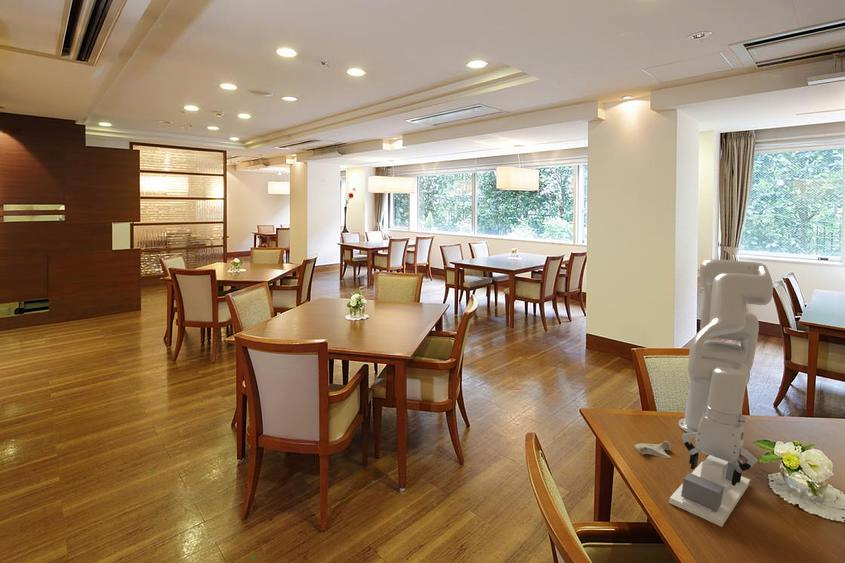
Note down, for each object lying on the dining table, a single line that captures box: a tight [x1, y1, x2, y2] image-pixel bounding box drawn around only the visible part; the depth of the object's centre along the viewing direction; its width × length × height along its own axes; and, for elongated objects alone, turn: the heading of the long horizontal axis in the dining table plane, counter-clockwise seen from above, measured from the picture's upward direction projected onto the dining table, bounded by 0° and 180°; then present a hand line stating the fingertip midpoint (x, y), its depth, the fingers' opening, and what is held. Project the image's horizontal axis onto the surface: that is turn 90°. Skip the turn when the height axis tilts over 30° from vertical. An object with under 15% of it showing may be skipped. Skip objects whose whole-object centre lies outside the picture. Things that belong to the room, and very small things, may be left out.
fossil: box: [633, 440, 672, 459], centre depth 148 cm, size 7×11×3 cm, turn 83°
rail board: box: [668, 453, 751, 527], centre depth 127 cm, size 26×12×7 cm, turn 134°
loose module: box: [700, 455, 728, 487], centre depth 127 cm, size 6×4×7 cm
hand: (713, 475), depth 127 cm, fingers open, 9 cm apart
